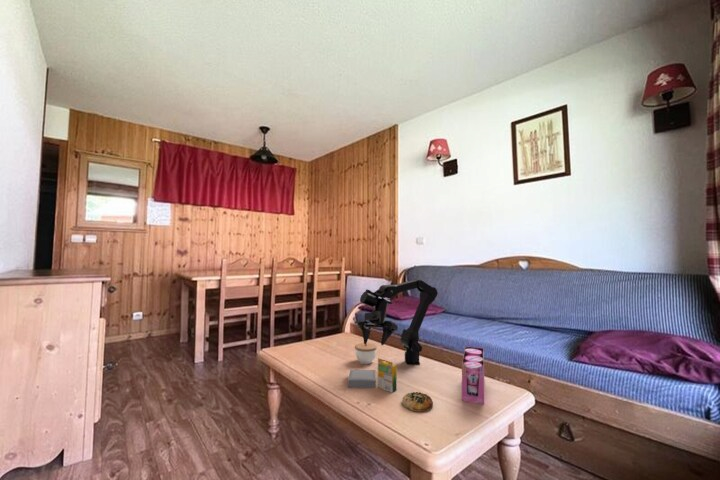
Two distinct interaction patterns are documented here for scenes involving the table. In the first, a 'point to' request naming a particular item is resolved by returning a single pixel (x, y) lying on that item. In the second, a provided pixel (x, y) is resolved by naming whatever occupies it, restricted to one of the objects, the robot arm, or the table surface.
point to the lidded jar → (365, 352)
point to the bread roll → (417, 402)
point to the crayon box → (386, 375)
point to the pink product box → (473, 375)
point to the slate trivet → (362, 379)
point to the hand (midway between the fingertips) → (373, 344)
